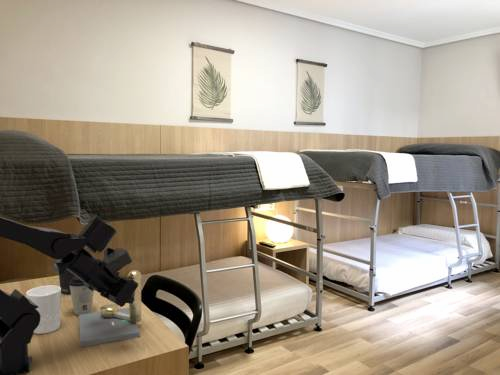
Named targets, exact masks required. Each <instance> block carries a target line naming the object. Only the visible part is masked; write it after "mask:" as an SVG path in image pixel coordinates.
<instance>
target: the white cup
mask: <svg viewBox="0 0 500 375" xmlns="http://www.w3.org/2000/svg"><path fill="white" fill-rule="evenodd" d="M25 295H26V298H28V299H30V300H31V301H32V302H33V303H35V304H36V305H37V306H38V308H36V310H37V311H38V312H39V313H40V315H41V317H40V323H39V325H38V327H37V328H36V329H35V330H34V333H33V334H37V335H44V334H49V333H52V332H55V331H57V330H58V329H59V328H61V327H60V326H61V316H62V315H61V314H62V312H61V310H62V292H61V287H60V285H55V284H54V285H51V284H50V285H41V286H37V287H32V288H31V289H29V290H27V291H26V294H25Z"/></svg>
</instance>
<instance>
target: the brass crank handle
mask: <svg viewBox="0 0 500 375" xmlns="http://www.w3.org/2000/svg"><path fill="white" fill-rule="evenodd" d="M142 276H143V275H142V273H141V272H140V271H139V270H137V269H136V270H135V269H132V270H131V271H129V273H127V276H126V277H128V278H131V279H133V280H134V281H135V282H137V283H138V287H137V288H136V290H135V291H134V293H133V294H132V295H131V296H132V297H133V299H134V302H133V303H132V304H129V303H128V308H129V314H125V313H120V312H118V309H119V305H117V304H115V303H111V304H105V305H102V306H101V307H100V312H101V317H103V318H111V317H117V318H121V319H126V320H130V322H131V323H137V324H138V323H140V322H142V320H143V319H142V289H141V288H142V285H141V283H142V282H141V281H142Z"/></svg>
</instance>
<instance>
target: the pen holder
mask: <svg viewBox="0 0 500 375" xmlns="http://www.w3.org/2000/svg"><path fill="white" fill-rule="evenodd" d="M74 276H75V275H74V274H72V273H71V272H70V271H68V270H67V269H66V270H65V271H64V272H63V274H62V275H59V274H58V279H59V287H61V294H64V295H71V291H70V285H69V284H68V283H69V281H70V280H72V278H73V277H74Z"/></svg>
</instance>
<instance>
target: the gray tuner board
mask: <svg viewBox="0 0 500 375" xmlns="http://www.w3.org/2000/svg"><path fill="white" fill-rule="evenodd" d="M118 312H120V313H125V314H129V307H126V308H125V307H124V308H118ZM78 316H79V317H78V318H79V321H78V322H79V347H80V348H81V347H87V346H92V345H99V344H105V343H111V342H118V341H123V340H129V339H136V338H140V337H141V336H140V335H141V332H140V330H139V327H138V323H131V322H130V320H126V319H121V318H117V317H111V318H103V317H101V311H97V312H90V313H88V314H81V315H78Z"/></svg>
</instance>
